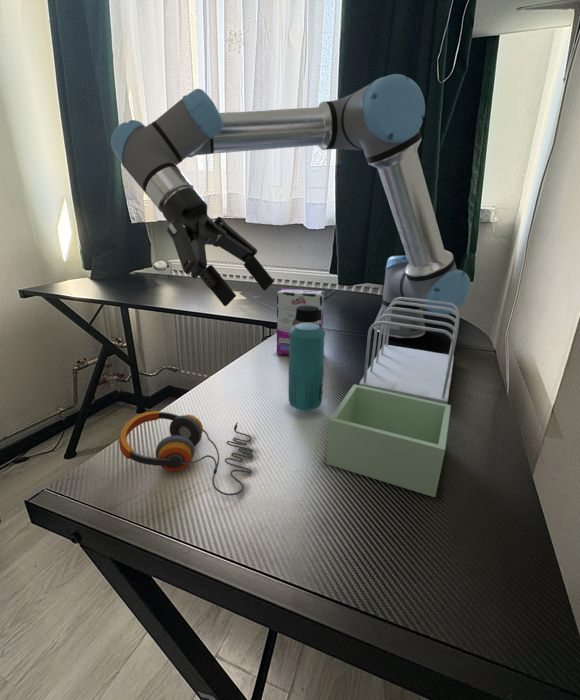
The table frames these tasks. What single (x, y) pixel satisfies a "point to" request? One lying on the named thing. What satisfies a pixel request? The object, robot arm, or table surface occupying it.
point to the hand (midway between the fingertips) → (251, 293)
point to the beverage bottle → (306, 360)
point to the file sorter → (411, 357)
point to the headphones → (178, 444)
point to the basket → (390, 438)
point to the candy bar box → (294, 313)
